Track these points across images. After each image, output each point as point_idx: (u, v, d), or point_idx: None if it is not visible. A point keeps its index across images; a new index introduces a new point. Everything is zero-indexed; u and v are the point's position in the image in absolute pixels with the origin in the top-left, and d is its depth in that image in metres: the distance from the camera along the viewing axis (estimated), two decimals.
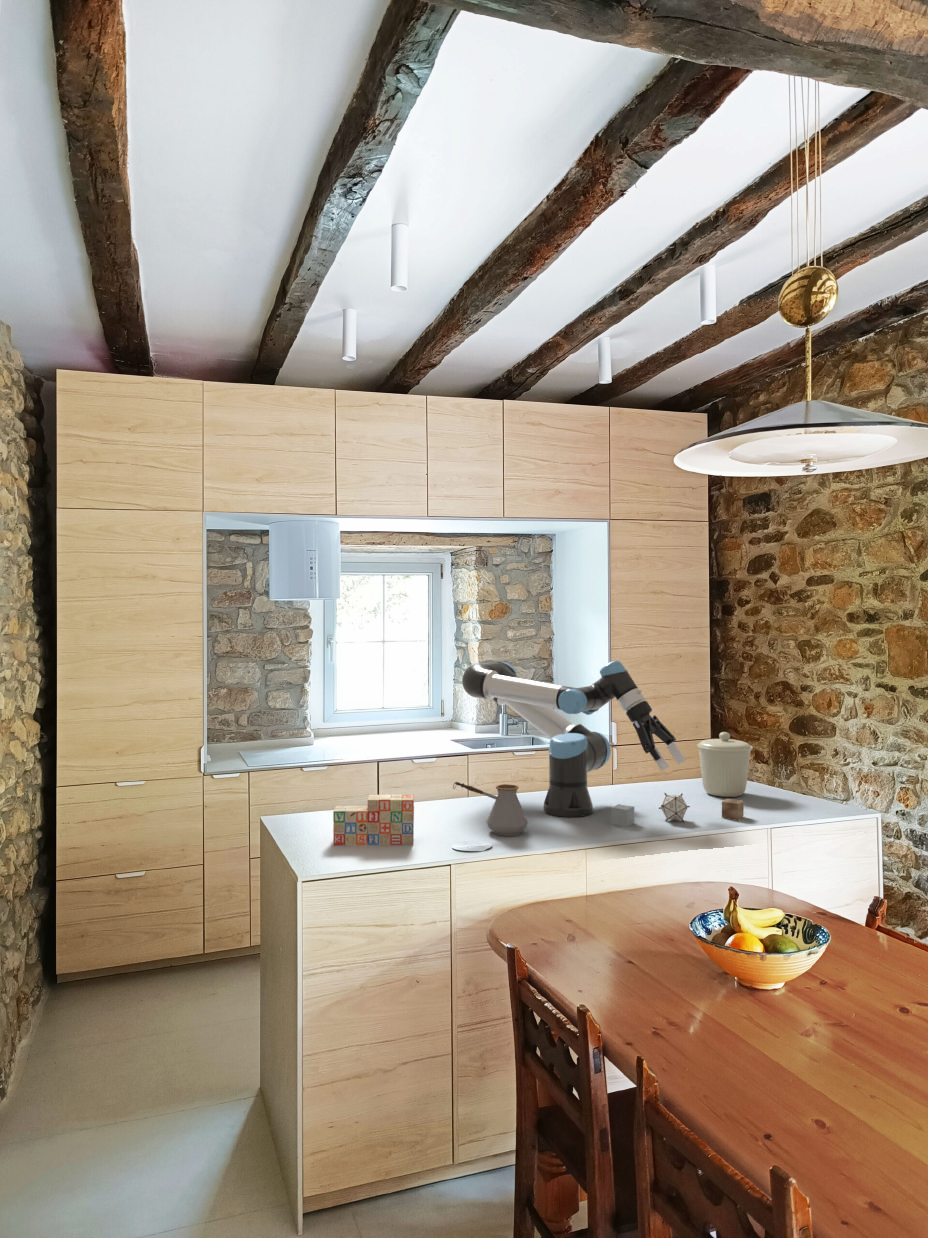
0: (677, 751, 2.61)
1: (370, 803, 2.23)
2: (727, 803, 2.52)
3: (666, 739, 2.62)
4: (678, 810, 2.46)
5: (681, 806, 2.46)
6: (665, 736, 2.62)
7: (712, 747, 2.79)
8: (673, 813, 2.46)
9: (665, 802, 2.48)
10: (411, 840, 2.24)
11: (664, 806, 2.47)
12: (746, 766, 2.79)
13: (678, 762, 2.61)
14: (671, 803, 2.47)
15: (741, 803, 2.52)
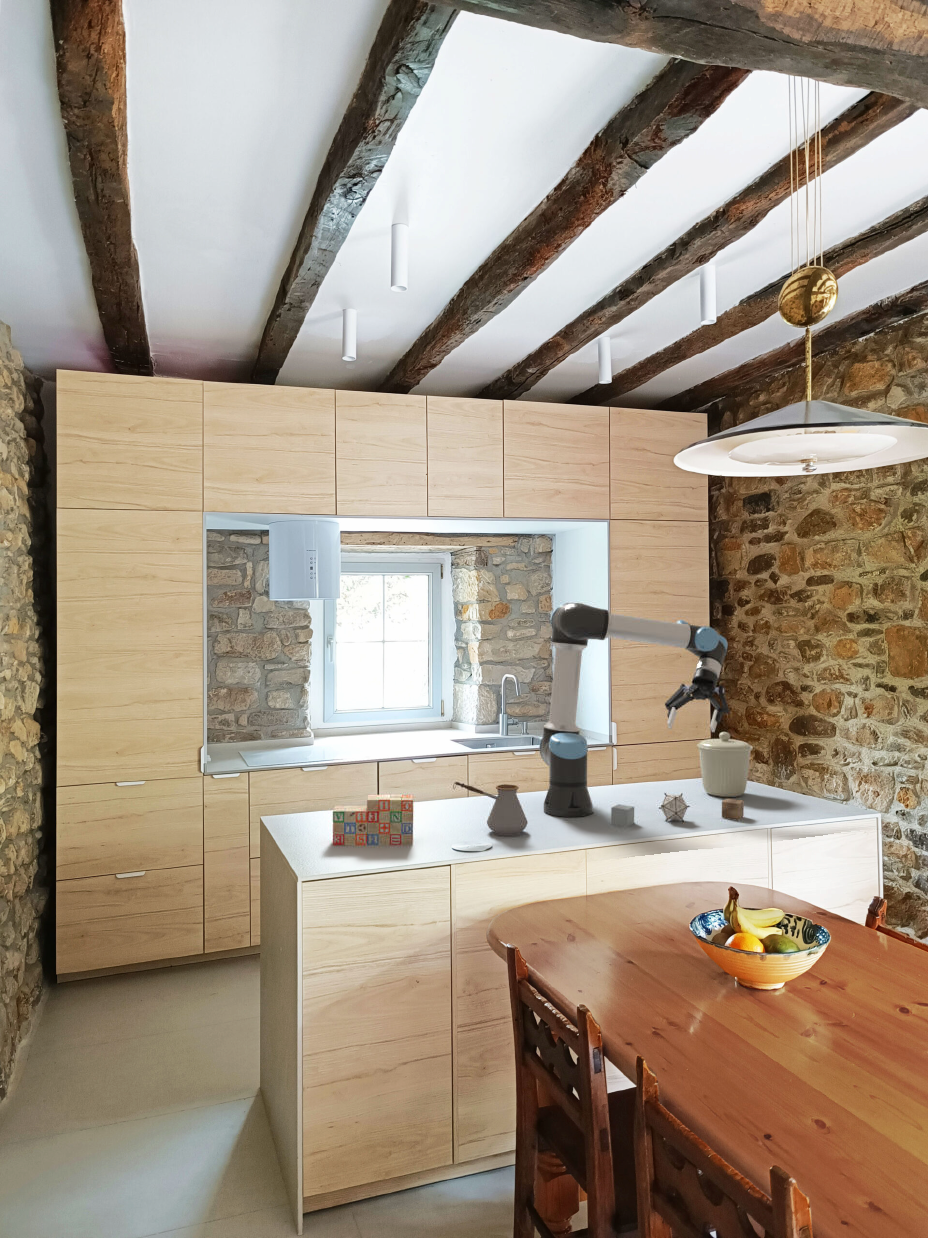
0: (674, 719, 2.66)
1: (369, 803, 2.23)
2: (727, 803, 2.52)
3: (678, 706, 2.68)
4: (678, 810, 2.46)
5: (681, 806, 2.46)
6: (681, 705, 2.68)
7: (712, 747, 2.79)
8: (673, 813, 2.46)
9: (665, 802, 2.48)
10: (410, 840, 2.24)
11: (664, 806, 2.47)
12: (746, 766, 2.79)
13: (670, 723, 2.63)
14: (671, 803, 2.47)
15: (741, 803, 2.52)
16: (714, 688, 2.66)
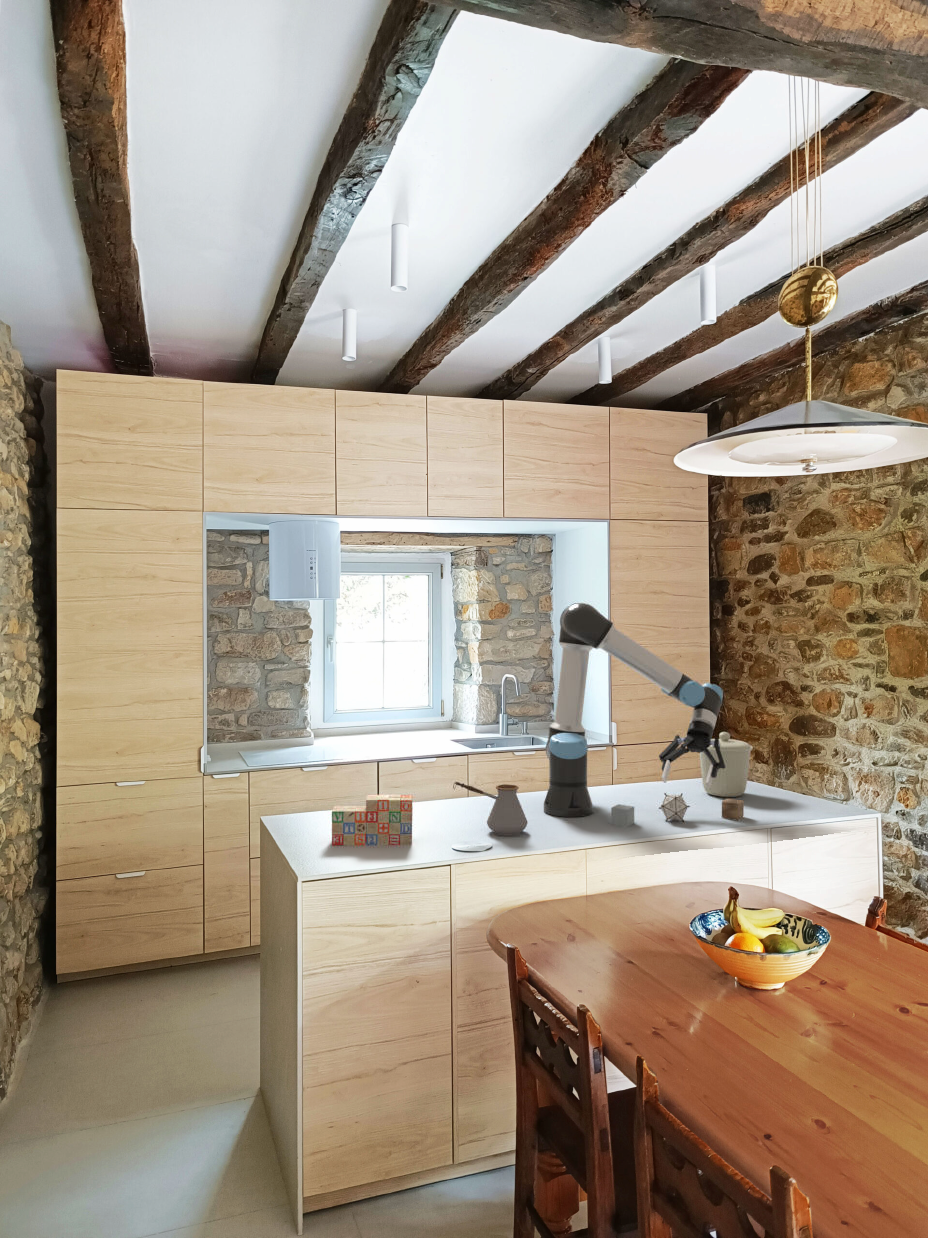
0: (668, 772, 2.60)
1: (368, 803, 2.23)
2: (727, 803, 2.52)
3: (672, 758, 2.62)
4: (678, 810, 2.46)
5: (681, 806, 2.46)
6: (676, 757, 2.62)
7: (712, 747, 2.79)
8: (673, 813, 2.46)
9: (665, 802, 2.48)
10: (410, 840, 2.24)
11: (664, 806, 2.47)
12: (746, 766, 2.79)
13: (664, 777, 2.57)
14: (671, 803, 2.47)
15: (741, 803, 2.52)
16: (709, 741, 2.60)
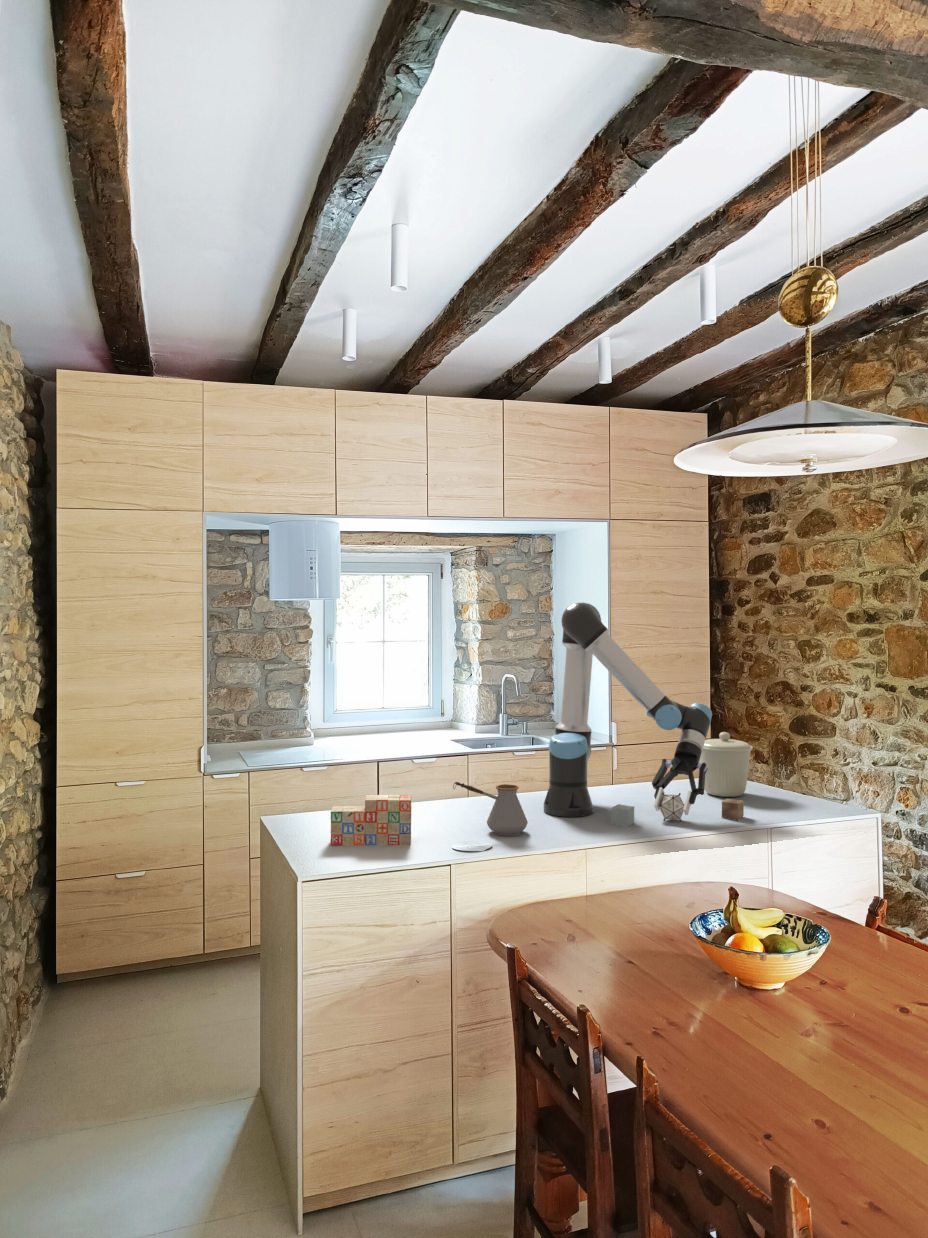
0: (661, 800, 2.51)
1: (367, 804, 2.23)
2: (727, 803, 2.52)
3: (665, 784, 2.54)
4: (675, 809, 2.46)
5: (679, 805, 2.47)
6: (667, 783, 2.54)
7: (712, 747, 2.79)
8: (670, 813, 2.46)
9: (663, 802, 2.48)
10: (408, 840, 2.23)
11: (662, 806, 2.48)
12: (746, 766, 2.79)
13: (657, 805, 2.48)
14: (669, 803, 2.47)
15: (741, 803, 2.52)
16: (697, 764, 2.53)
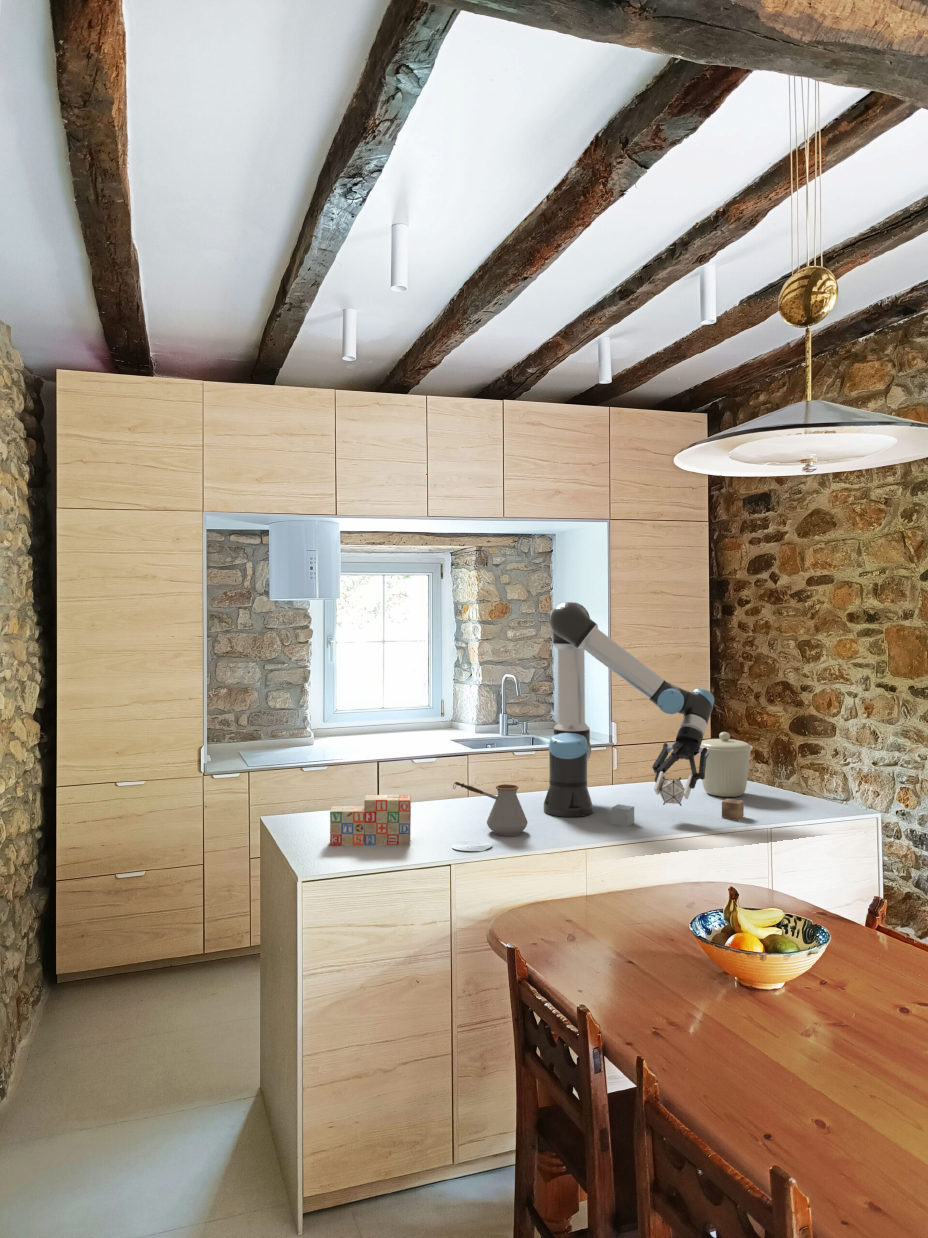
0: (661, 784, 2.51)
1: (367, 804, 2.23)
2: (727, 803, 2.52)
3: (665, 768, 2.54)
4: (675, 793, 2.46)
5: (679, 790, 2.47)
6: (668, 767, 2.54)
7: (712, 747, 2.79)
8: (671, 797, 2.46)
9: (663, 786, 2.49)
10: (408, 840, 2.23)
11: (662, 789, 2.48)
12: (746, 766, 2.79)
13: (657, 789, 2.49)
14: (669, 787, 2.47)
15: (741, 803, 2.52)
16: (698, 748, 2.53)
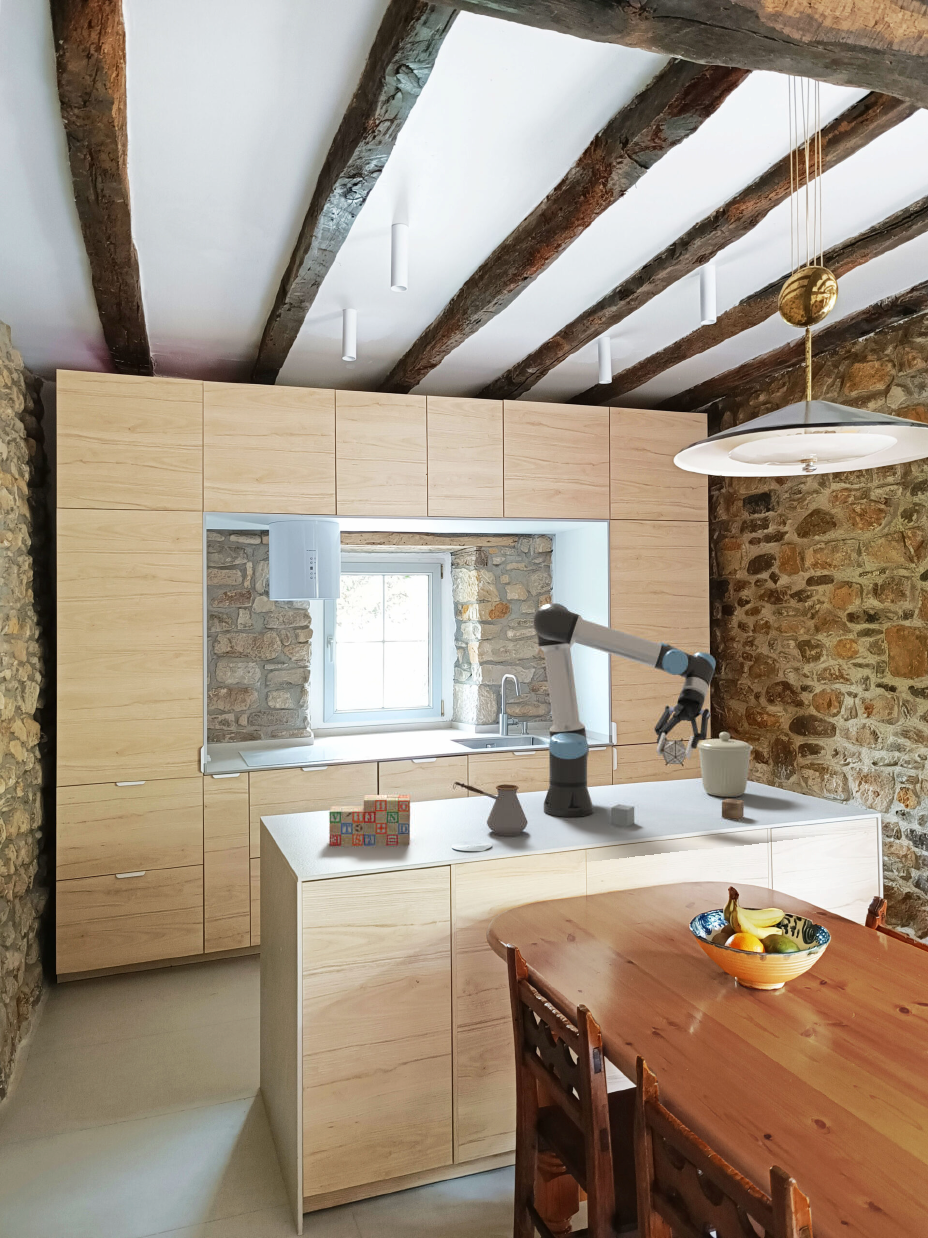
0: (663, 745, 2.53)
1: (366, 804, 2.23)
2: (727, 803, 2.52)
3: (667, 730, 2.55)
4: (677, 754, 2.48)
5: (681, 750, 2.48)
6: (670, 729, 2.56)
7: (712, 747, 2.79)
8: (673, 757, 2.48)
9: (665, 746, 2.50)
10: (407, 840, 2.23)
11: (664, 750, 2.49)
12: (746, 766, 2.79)
13: (659, 750, 2.50)
14: (671, 747, 2.49)
15: (741, 803, 2.52)
16: (700, 710, 2.55)
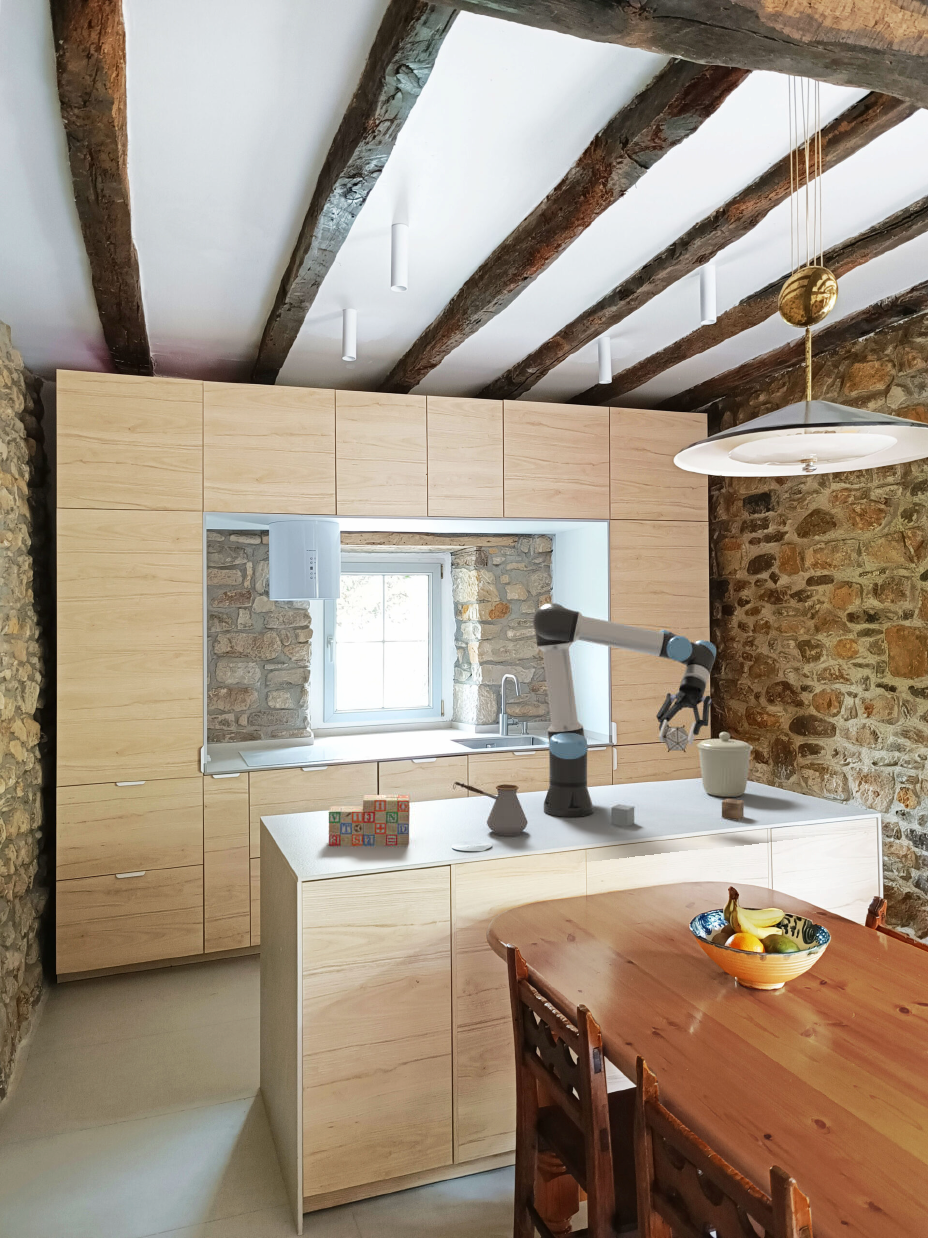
0: (665, 732, 2.54)
1: (365, 804, 2.23)
2: (727, 803, 2.52)
3: (669, 717, 2.57)
4: (679, 740, 2.49)
5: (683, 736, 2.50)
6: (672, 716, 2.58)
7: (712, 747, 2.79)
8: (675, 743, 2.49)
9: (667, 733, 2.52)
10: (407, 840, 2.23)
11: (666, 737, 2.51)
12: (746, 766, 2.79)
13: (661, 736, 2.52)
14: (673, 734, 2.50)
15: (741, 803, 2.52)
16: (701, 697, 2.56)
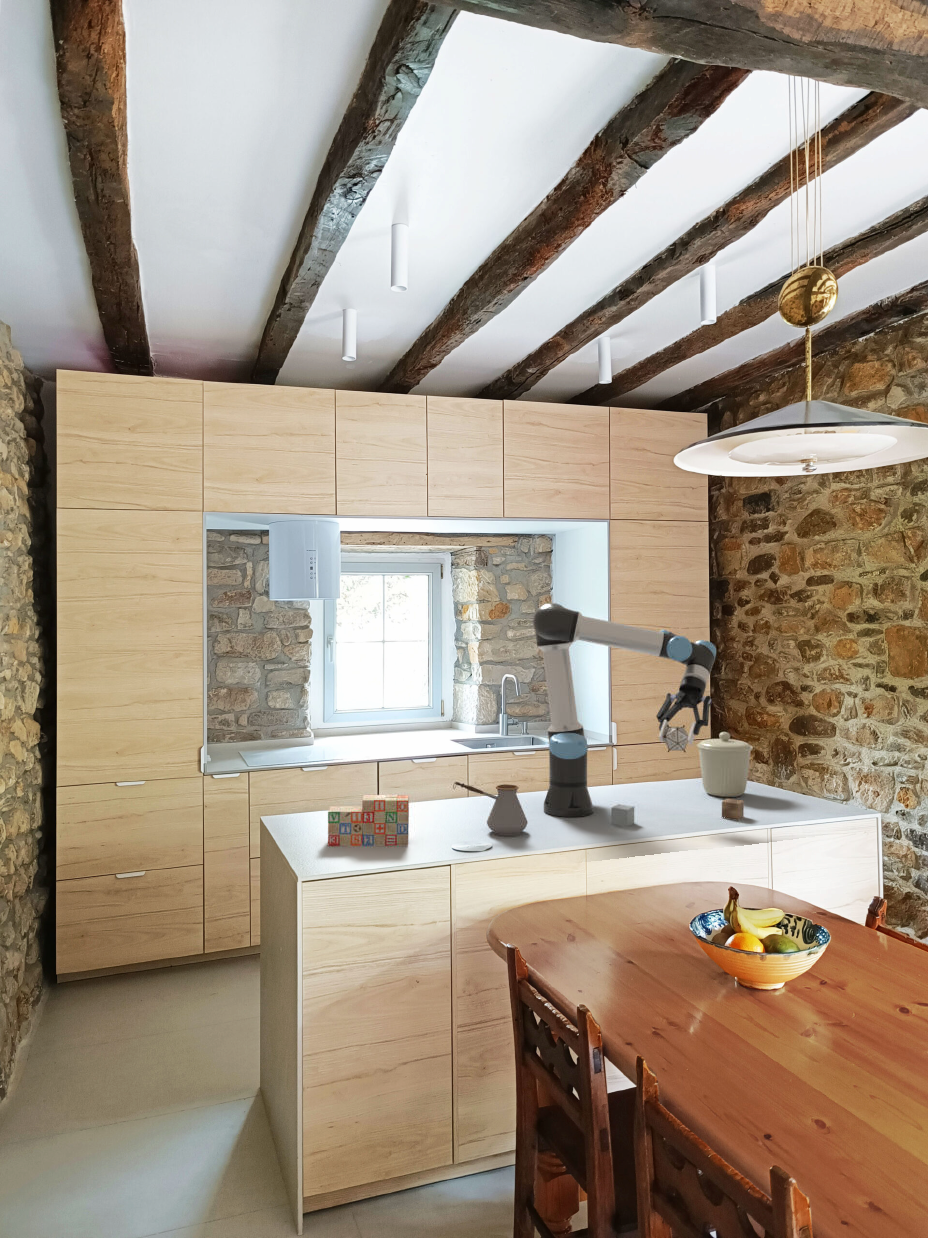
0: (665, 732, 2.54)
1: (365, 804, 2.23)
2: (727, 803, 2.52)
3: (669, 717, 2.57)
4: (679, 740, 2.49)
5: (683, 736, 2.50)
6: (672, 716, 2.58)
7: (712, 747, 2.79)
8: (675, 743, 2.49)
9: (667, 733, 2.52)
10: (406, 840, 2.23)
11: (666, 737, 2.51)
12: (746, 766, 2.79)
13: (661, 736, 2.52)
14: (673, 734, 2.50)
15: (741, 803, 2.52)
16: (701, 697, 2.56)
